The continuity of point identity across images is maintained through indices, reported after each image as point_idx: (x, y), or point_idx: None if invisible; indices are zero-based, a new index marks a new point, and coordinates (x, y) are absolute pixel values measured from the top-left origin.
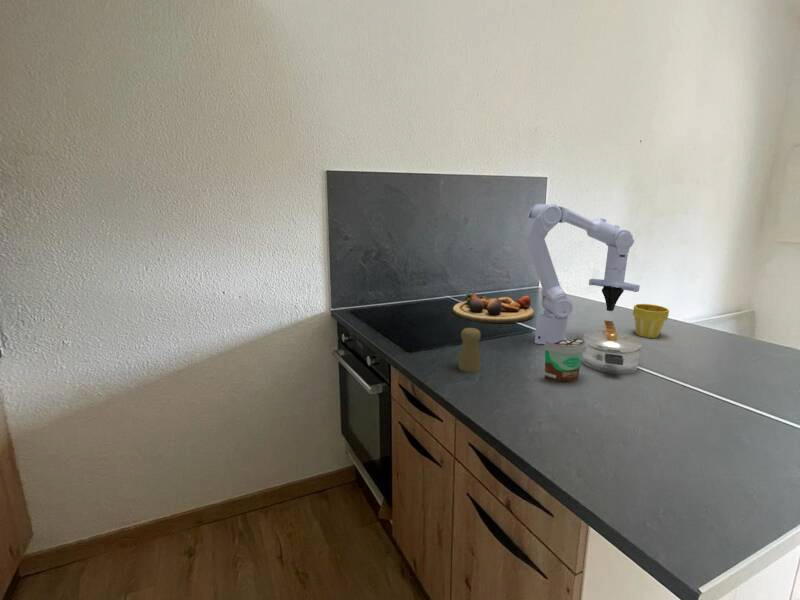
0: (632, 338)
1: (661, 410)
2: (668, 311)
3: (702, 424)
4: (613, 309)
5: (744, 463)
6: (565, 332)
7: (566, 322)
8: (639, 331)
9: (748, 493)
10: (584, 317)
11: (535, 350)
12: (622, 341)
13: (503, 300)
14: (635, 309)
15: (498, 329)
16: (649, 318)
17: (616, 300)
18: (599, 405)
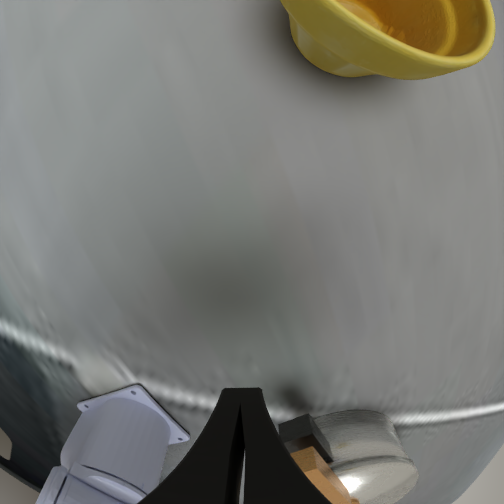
0: (397, 472)
1: (418, 485)
2: (488, 1)
3: (452, 472)
4: (263, 398)
5: (461, 483)
6: (161, 452)
7: (154, 482)
8: (329, 68)
9: (449, 498)
10: (33, 25)
11: (163, 473)
12: (373, 498)
13: None
14: (324, 16)
15: (11, 395)
16: (423, 77)
17: (281, 459)
18: None
